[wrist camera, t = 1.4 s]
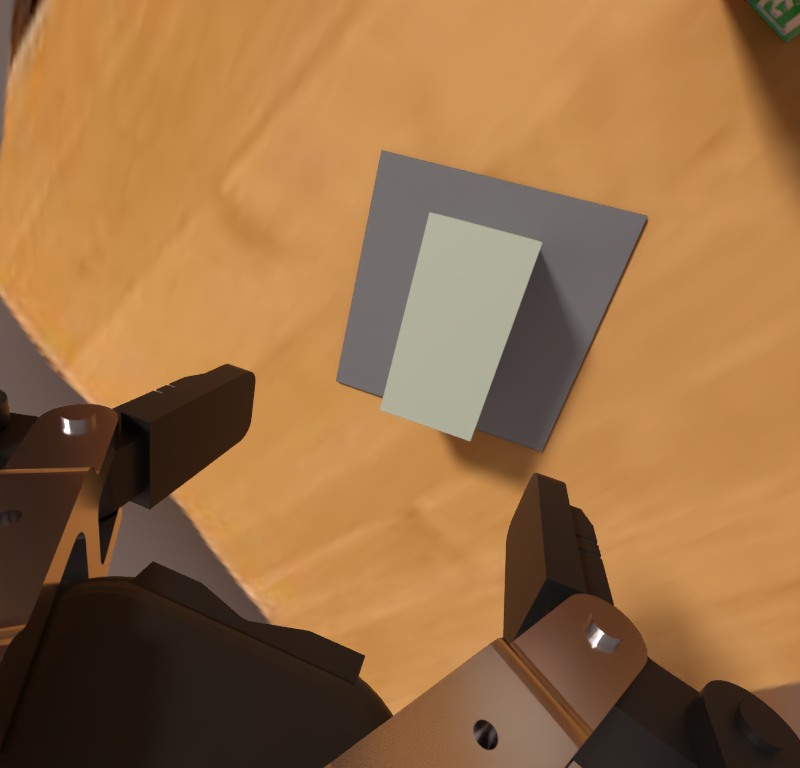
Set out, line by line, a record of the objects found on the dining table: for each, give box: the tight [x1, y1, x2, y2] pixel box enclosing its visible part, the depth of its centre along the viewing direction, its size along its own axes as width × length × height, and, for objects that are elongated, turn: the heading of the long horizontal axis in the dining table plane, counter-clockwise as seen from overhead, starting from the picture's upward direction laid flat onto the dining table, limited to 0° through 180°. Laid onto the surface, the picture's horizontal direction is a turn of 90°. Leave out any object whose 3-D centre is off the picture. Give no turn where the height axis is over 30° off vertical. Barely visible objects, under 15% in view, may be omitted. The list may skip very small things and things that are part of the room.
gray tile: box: [336, 150, 647, 452], centre depth 31 cm, size 18×18×1 cm
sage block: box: [380, 212, 543, 441], centre depth 27 cm, size 6×12×8 cm, turn 165°
